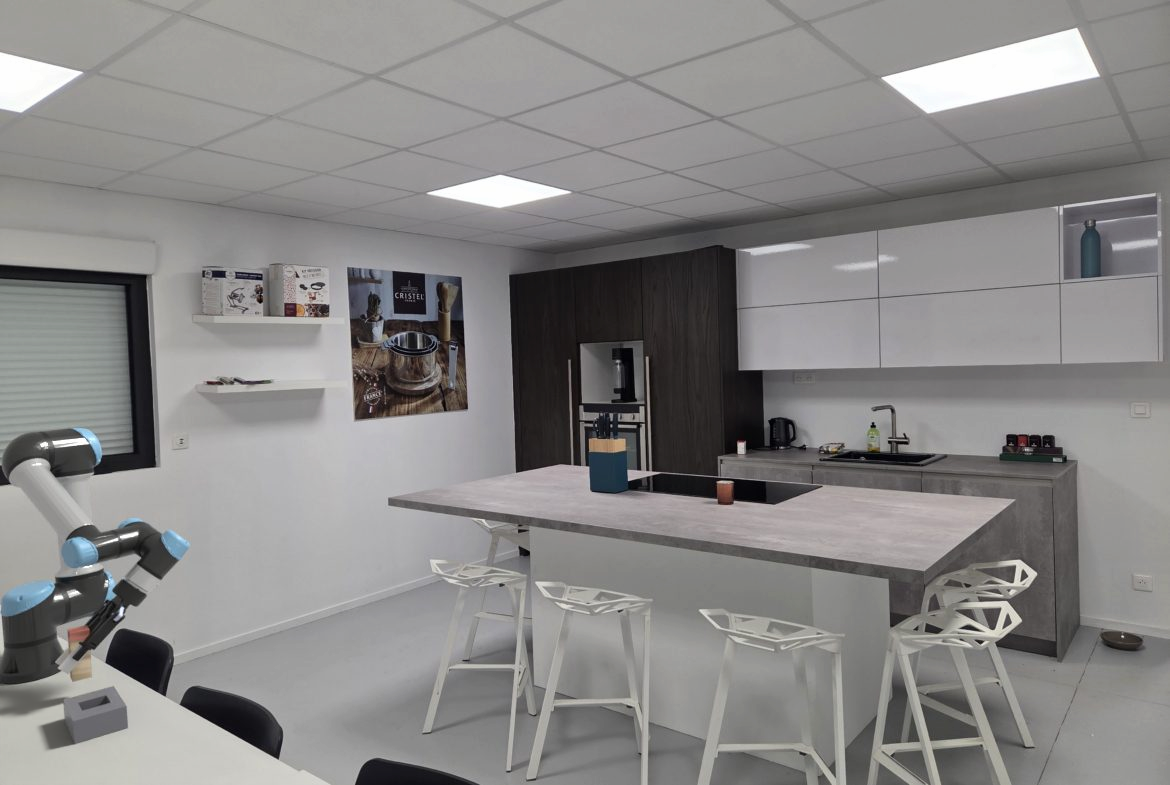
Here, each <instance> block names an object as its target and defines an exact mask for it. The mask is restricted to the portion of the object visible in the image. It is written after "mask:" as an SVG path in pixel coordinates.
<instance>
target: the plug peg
mask: <svg viewBox="0 0 1170 785" xmlns="http://www.w3.org/2000/svg"><path fill="white" fill-rule="evenodd" d="M84 625H85V624H84ZM84 625H81V626H76V627H73V628H68V629H67V646H68V647H67V648H69V655H70V654H71V653H72V652H73V650H74V649H75V648H76V647H77V646H78V645H79V644H78V643H79V642H82V643H83V642H84V640H85V639H86V638H87V637H88V635H89V634H90V630H89V628H88V626H87V625H85V626H84ZM91 650H92V649H91ZM91 650H89V652H88V653H87V654H86V655H85V656H84V657H83V658H82V659H81V660H80V662H79V663H78V664H77V665H76V666H75V667H74V668H73V669H72V670H71V672H70V673H69V677H70V681H72V682H73V683H74V682H78V681H82V680H86V679H90V678H93V671H92V669H93V668H92V652H91Z"/></svg>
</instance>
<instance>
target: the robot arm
mask: <svg viewBox="0 0 1170 785" xmlns="http://www.w3.org/2000/svg"><path fill="white" fill-rule="evenodd" d="M102 457H103V450H102V446H101V442H100V441H99V438H98V437H97V436H96V435H95V434H94V432H92V430H90V429H87V428H84V427H83V428H81V427H77V428H76V427H75V428H74V427H73V428H70V427H69V428H61V429H60V428H59V429H53V430H44V431H43V430H41V431H32V432H31V431H30V432H25V433H23V434H20V435H18V436H17V437H14V438H13V439H12V440H11V441H10V442H9V443H8V444H7V445H6V447H5V449H4V451H3V453H2V456H1V469H2V472H3V475H4V476H5V478H6V480H8V482H9V483H10V484H11V485H12V486H13V487H15V488H19V489H20V490H22V492H23V494H25V496H26V497H27V498H28V499H29V501H30V502H31V503H32V505H33V506H34V507H35V508H36V510H38V512H39V513H40V514H41V515H42V517H43V518H44V520H46V522H47V523H48V524H49V526H50V527H51V528H52V529H53V530H54V532H55V533H56V534H57V535H56V536H57V544H58V554H59V563H60V564H59V565H60V566H59V567H60V568H59V570H57V572H56V573H55V574H54V579H55V582H53V581H51V580H46V579H45V580H38V581H34V582H28V583H25V584H22V585H19V586H16V587H14V588H12V589H11V590H9V591H7V592H6V593H5V594H4V595H3V596H2V598H1V599H0V600H1V601H0V603H1V604H0V615H1V625H2V627H1V628H2V637H3V653H2V656H1V658H0V683H1V684H20V683H27V682H33V681H36V680H40V679H44V678H47V677H50V676H52V675H55V674H57V673H59V672H63V673H65V674H67V675H70V672H71V670H72V669H73V668H74V667H75V666H76V665H77V664H78V663H79V662H80V660H81V659H82V658H83V657H84V656H85V655H86V654H87V653H88V652H89V650H93V651H95V650H96V649H97V648H98V647H99V645H101V643H103V641H104V640H105V639H106V638H107V637H108V636H109V635H110V633H111V632H112V631H113V630H114V629H115V628H116V627H117V626H118V625H119V624H120V623H121V622H122V621H123V620H124V619H125V618H126V615H125V613H126V611H127V609H128V608H129V606H132V607H136V608H137V607H139V606H140V605H141V603H143V601H144V600H145V599H146V598H147V596H148V594H149V593H151V592H152V591H153V590H154V589H155V587H157V588H158V587H159V586H160V582H161V581H162V580H163V579H164V578H165V576H166V575H167V574H168V573H169V572H170V571H171V570H172V569H173V568H174V567H175V566H176V564H178V562H179V561H181V559H183V557H184V556H185V554H186V553H187V552H188V550H189V549H190V547H191V544H190V542H189V541H187V540H186V539H185V538H183V537H182V536H180V535H179V534H177V533H176V532H175V531H173V530H172V529H167V530H165V531H164V533H162V532H160V531H159V530H157V529H156V528H154V527H153V526H152V525H151V524H149V523H148V522H146V521H144V520H142V519H141V518H138V517H131V518H127V519H126V520H125V521H122V522H121V523H120V524H119V525H118V527H117V528H116V529H111V530H106V531H100V530H99V528H98V527H97V526H96V525H95V524H94V522H93V521H94V520H93V512H92V510H93V509H92V501H91V493H90V492H91V491H90V481H89V480H90V478H91V477H92V476H93V475H94V474H95V470H94V468H95V467H96V466H98V465H99V464H100V463H101V459H102ZM133 555H136V556H138V557H140V558H139V559H138V561H137V562H136V563H135V564H134V565H132V567H131V568H130V569H129V570H128V571H127V572H126V573H125V575H124V578H122V579H120V580H119V582H118V583H116V582H115V579H114V578H113V575H112V574H111V572H109V571H107V570H105V569H104V565H102V564H101V563H105V562H109V561H112V560H116V559H121V558H124V557H128V556H133ZM147 593H148V594H147ZM85 618H89V620H87V622H86V623H85V624H84V625H83V626H85V625H87V626H88V628H89V630H90V634H89V635H88V637H87V638H86V639H85V640H84V642H83V643H82V642H79V643H78V644H79V645H78V646H77V647H76V648H75V649H74V650H73V652H72V653H71V654H70V655H69V648H68V647H67V648H66V649H65V650H64V649H63V647H62V645H61V643H60V641H59V639H58V628H57V627H59V626H63V625H65V624H69V623H72V622H75V621H79V620H82V619H85Z"/></svg>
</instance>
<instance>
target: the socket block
mask: <svg viewBox="0 0 1170 785" xmlns="http://www.w3.org/2000/svg"><path fill="white" fill-rule="evenodd" d="M63 717H64V723H65V725H66V727H67V729H68V731H69V733H70V736H71V739H72V740H73V743H74V744H75V745H76V744H80V743H83V742H85V741H87V742H88V741H89V740H92V739H97V738H100V737H102V736H103V737H104V736H106V735H109V734H113V733H116V732H119V731H122V730H125V729H129V724H128V723H129V722H128V720H129V719H128V706H127V704H126V702H124V700H123V698H122V697H121V695H120V694H119V692H118V690H117V689H116V687H115V686H114V685H112V686H109V687H105V688H101V689H98V690H93V691H90V692H86V693H83V694H78V695H75V696H70V697H68V698H64V699H63Z"/></svg>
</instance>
